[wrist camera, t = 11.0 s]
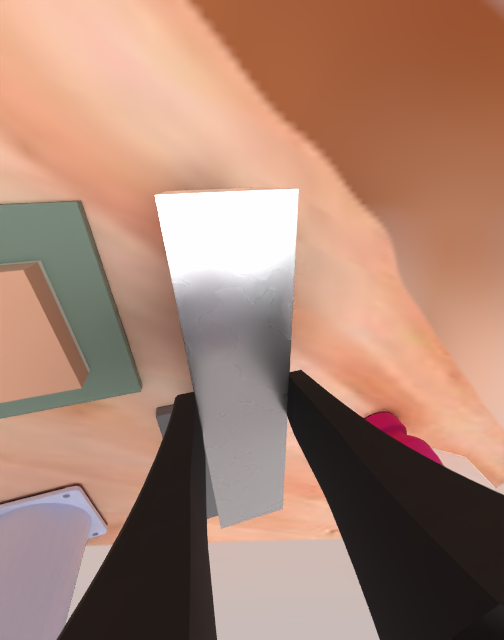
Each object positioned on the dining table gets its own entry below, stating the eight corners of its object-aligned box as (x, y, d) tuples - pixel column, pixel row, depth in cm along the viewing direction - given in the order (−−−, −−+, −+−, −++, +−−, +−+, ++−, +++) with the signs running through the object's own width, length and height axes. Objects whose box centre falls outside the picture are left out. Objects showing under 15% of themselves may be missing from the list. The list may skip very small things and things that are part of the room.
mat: (-43, 420, 16) (-51, 428, 15) (-230, 214, 10) (-252, 216, 9) (141, 385, 18) (140, 391, 17) (81, 200, 12) (76, 201, 12)
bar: (210, 445, 18) (221, 528, 13) (165, 190, 10) (154, 195, 6) (258, 433, 18) (282, 509, 14) (250, 187, 11) (298, 188, 6)
